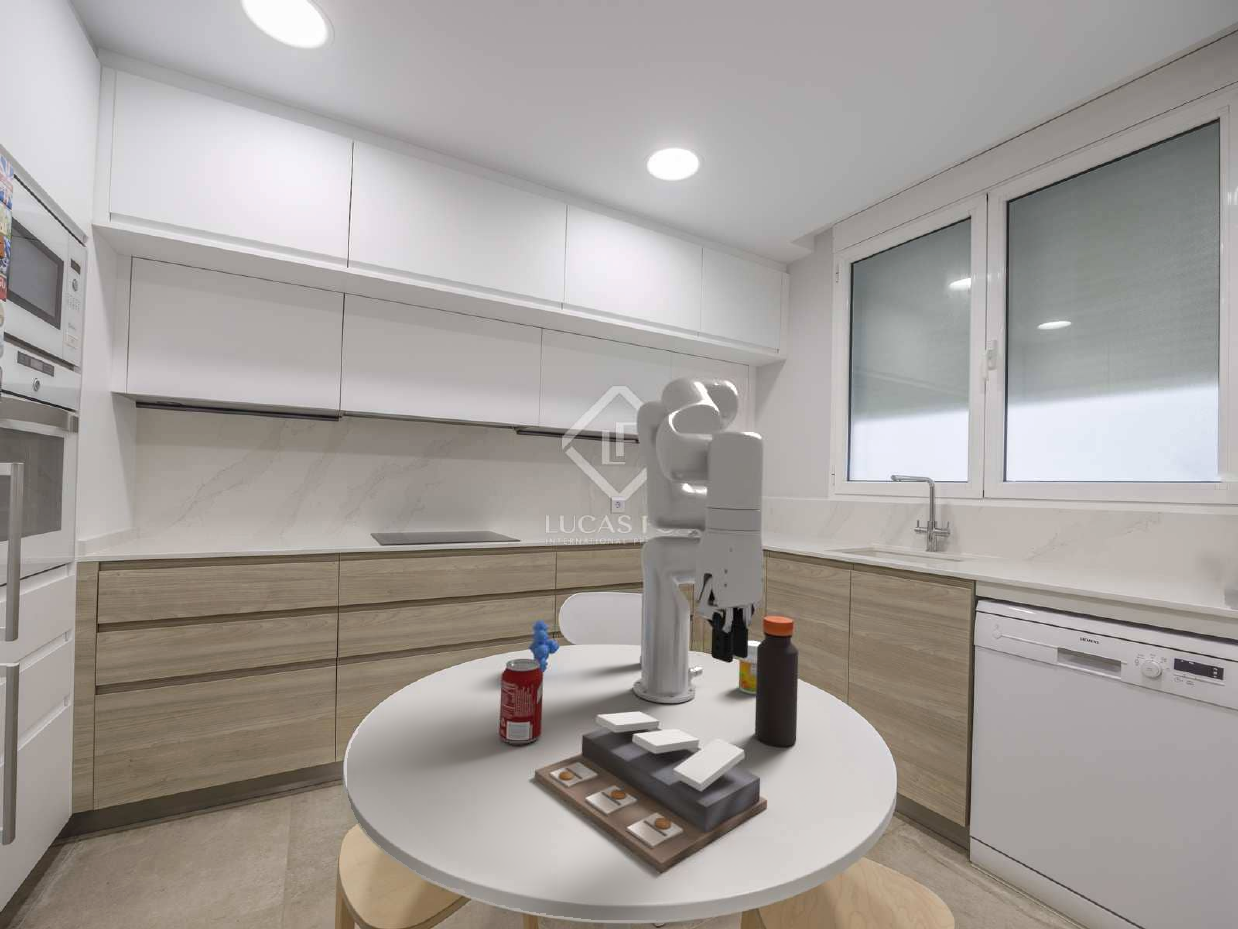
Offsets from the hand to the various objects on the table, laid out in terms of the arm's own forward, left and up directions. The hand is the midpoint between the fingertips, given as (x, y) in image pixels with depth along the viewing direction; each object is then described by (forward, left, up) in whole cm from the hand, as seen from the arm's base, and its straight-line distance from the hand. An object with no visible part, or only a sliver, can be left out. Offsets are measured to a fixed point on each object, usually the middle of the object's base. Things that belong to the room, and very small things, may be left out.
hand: (729, 656), depth 77 cm
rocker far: (+3, -16, -14) cm, 21 cm away
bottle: (-32, -47, -19) cm, 60 cm away
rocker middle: (+3, -8, -14) cm, 16 cm away
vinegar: (-22, -7, -19) cm, 30 cm away
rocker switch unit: (+7, -8, -19) cm, 22 cm away
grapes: (-8, -56, -19) cm, 59 cm away
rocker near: (+3, 0, -14) cm, 14 cm away
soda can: (+12, -33, -19) cm, 40 cm away
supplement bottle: (-38, -23, -19) cm, 48 cm away
